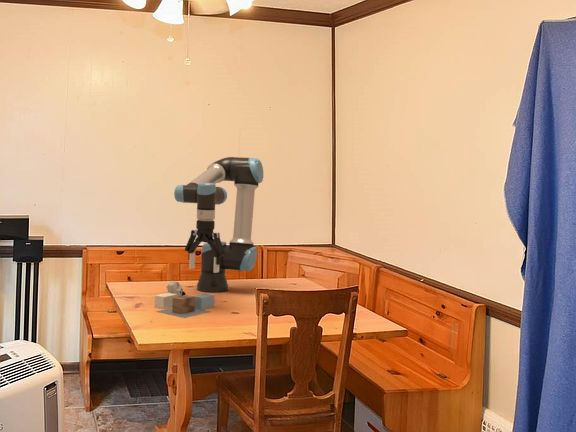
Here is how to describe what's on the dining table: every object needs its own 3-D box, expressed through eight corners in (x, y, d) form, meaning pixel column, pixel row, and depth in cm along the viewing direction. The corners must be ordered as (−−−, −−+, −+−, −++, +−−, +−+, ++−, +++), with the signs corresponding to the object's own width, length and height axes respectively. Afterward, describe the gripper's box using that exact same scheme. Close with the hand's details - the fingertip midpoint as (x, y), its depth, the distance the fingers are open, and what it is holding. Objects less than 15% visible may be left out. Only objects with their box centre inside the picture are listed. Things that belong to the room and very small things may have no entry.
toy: (159, 288, 296) (171, 274, 310) (165, 313, 300) (177, 298, 314) (173, 287, 295) (184, 273, 309) (178, 312, 298) (190, 297, 312)
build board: (182, 307, 294) (182, 305, 294) (211, 314, 285) (211, 311, 285) (155, 313, 281) (155, 311, 281) (184, 320, 272) (184, 318, 272)
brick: (168, 306, 296) (168, 292, 296) (176, 308, 293) (177, 294, 293) (154, 309, 290) (154, 295, 289) (163, 311, 287) (163, 297, 286)
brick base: (185, 309, 288) (186, 294, 287) (194, 311, 285) (195, 296, 284) (172, 312, 281) (172, 297, 281) (181, 314, 278) (181, 299, 278)
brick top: (205, 307, 298) (205, 293, 297) (214, 309, 295) (214, 295, 294) (192, 310, 291) (192, 296, 291) (201, 312, 288) (201, 297, 288)
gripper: (177, 217, 294) (176, 267, 295) (222, 222, 280) (220, 275, 281) (189, 217, 300) (188, 265, 302) (234, 222, 286) (232, 273, 287)
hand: (203, 270), depth 291 cm, fingers open, 13 cm apart
